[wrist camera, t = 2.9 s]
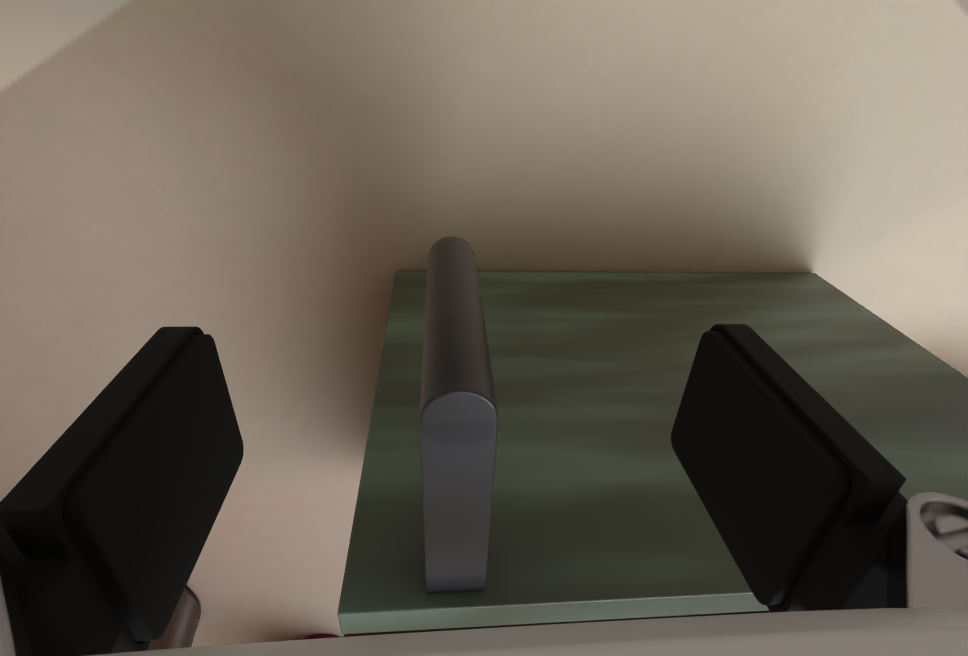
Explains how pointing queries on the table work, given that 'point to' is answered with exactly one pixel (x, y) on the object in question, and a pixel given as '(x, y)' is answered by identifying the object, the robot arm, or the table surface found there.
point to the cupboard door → (594, 439)
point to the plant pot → (180, 624)
